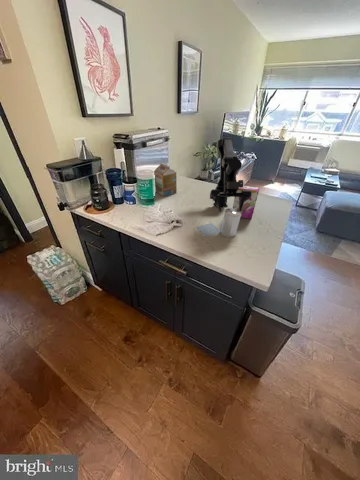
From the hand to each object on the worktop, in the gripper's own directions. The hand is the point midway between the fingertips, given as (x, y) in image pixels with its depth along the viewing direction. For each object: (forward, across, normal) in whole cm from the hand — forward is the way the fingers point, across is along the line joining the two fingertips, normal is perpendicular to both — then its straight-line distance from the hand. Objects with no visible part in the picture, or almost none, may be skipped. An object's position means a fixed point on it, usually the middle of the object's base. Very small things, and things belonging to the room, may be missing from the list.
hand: (230, 212), depth 93 cm
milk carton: (-25, -36, +40) cm, 59 cm away
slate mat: (+8, -9, +6) cm, 14 cm away
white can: (+9, 0, +4) cm, 10 cm away
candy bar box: (-3, +10, +18) cm, 21 cm away
